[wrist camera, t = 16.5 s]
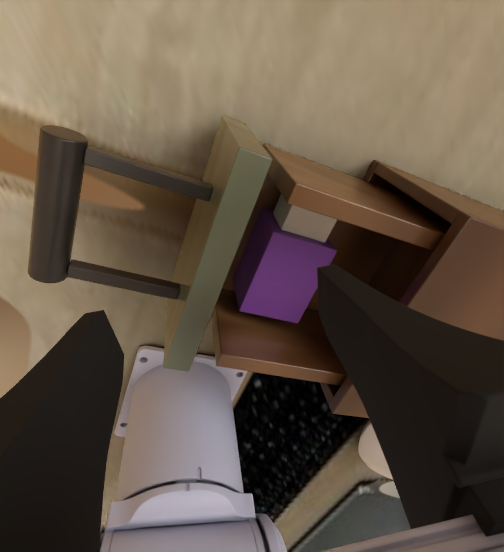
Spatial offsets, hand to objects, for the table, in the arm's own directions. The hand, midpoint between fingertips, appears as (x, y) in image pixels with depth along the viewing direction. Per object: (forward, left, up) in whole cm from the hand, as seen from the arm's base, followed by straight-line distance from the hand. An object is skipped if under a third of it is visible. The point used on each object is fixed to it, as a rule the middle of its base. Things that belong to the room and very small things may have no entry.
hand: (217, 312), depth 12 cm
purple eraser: (0, -4, -8) cm, 9 cm away
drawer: (0, -2, -9) cm, 9 cm away
